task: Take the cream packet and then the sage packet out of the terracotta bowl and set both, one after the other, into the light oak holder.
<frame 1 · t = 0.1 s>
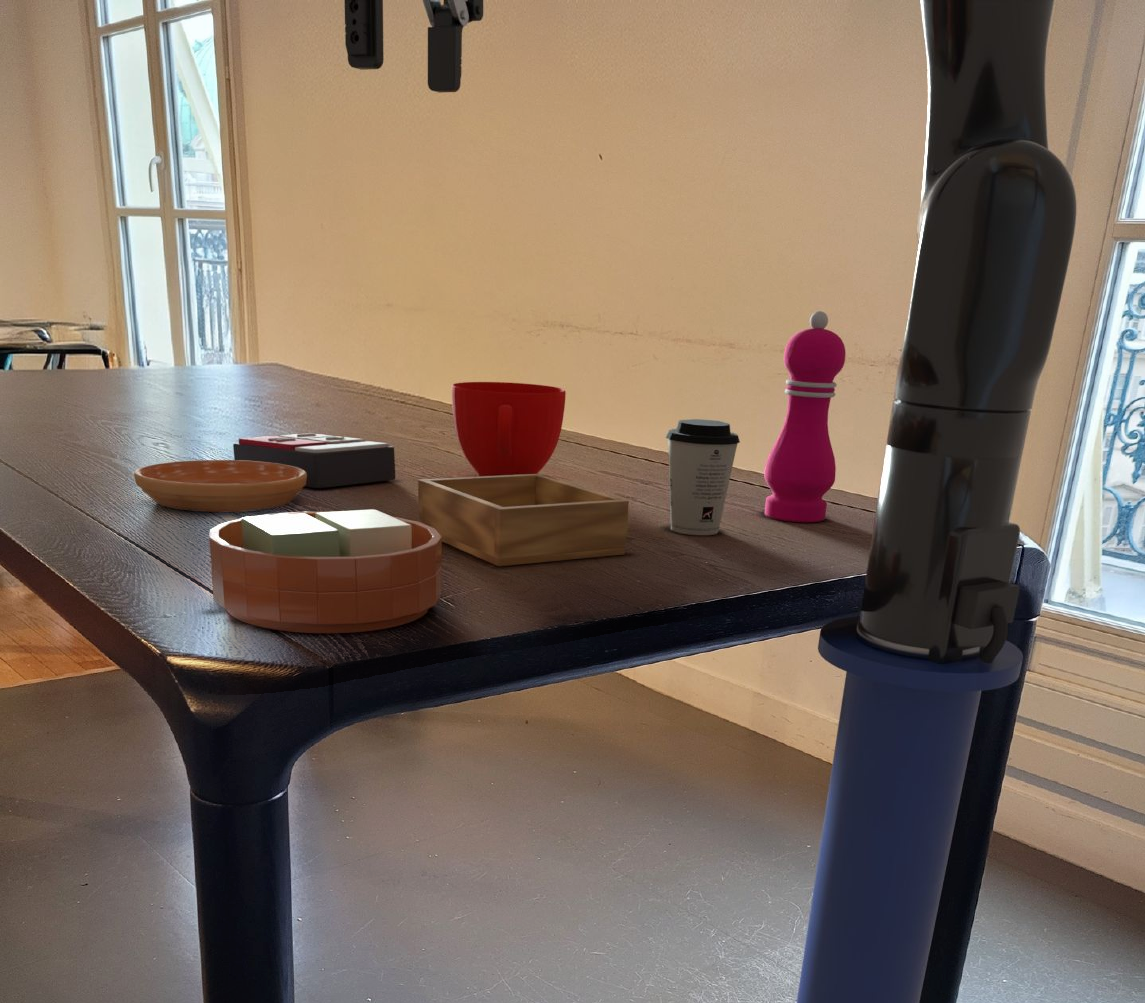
hand: (406, 80, 74), 33 cm above the table, tool pointing down, fingers open, 8 cm apart
ceramic cup: (505, 481, 132), on the table
holder: (519, 542, 101), on the table
coffee cup: (694, 532, 110), on the table
packet b: (292, 597, 78), point 1 cm above the table, touching bowl
bowl: (329, 605, 79), on the table
saucer: (224, 503, 112), on the table
pepper mill: (794, 518, 120), on the table
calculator: (314, 477, 128), on the table
packet a: (364, 590, 80), point 1 cm above the table, touching bowl
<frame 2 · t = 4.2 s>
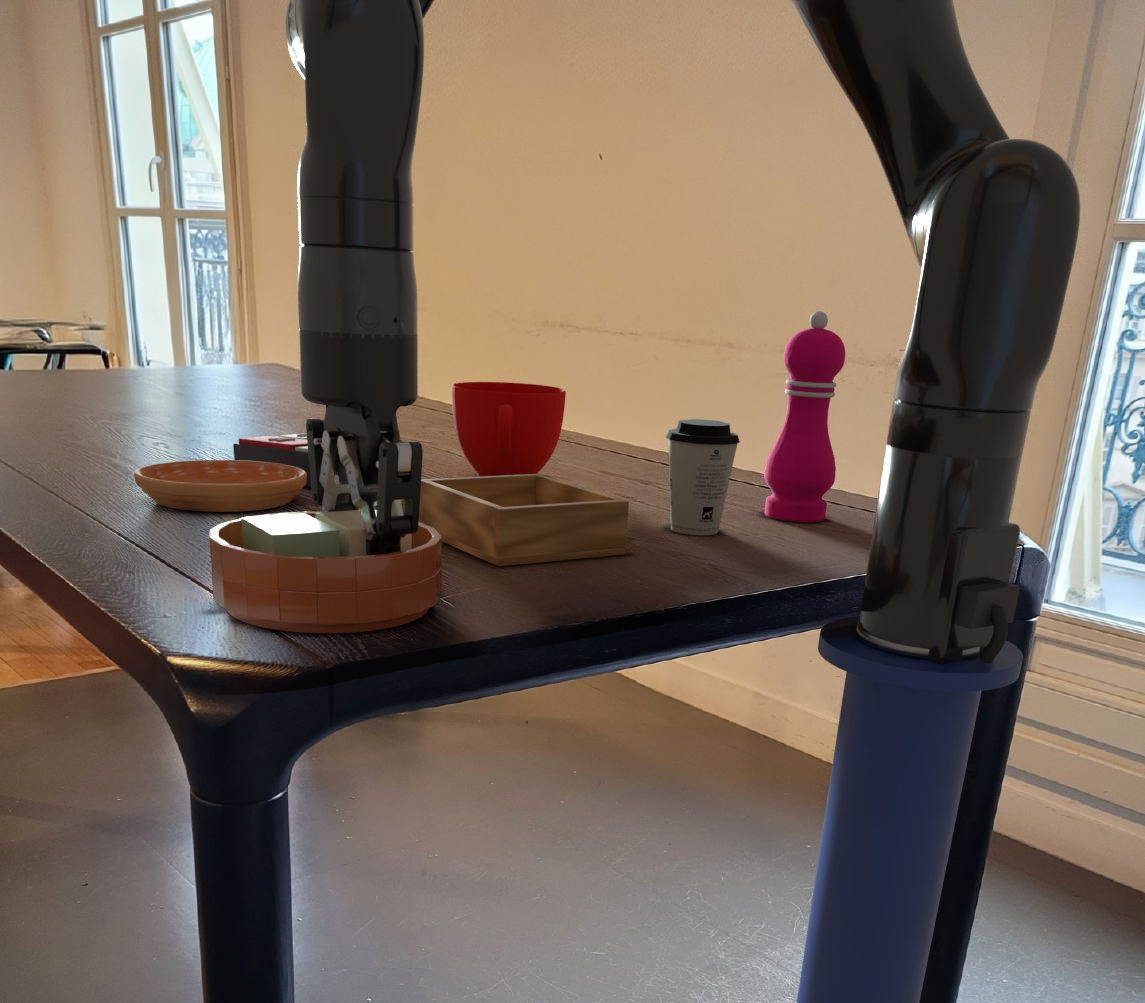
hand: (363, 581, 80), 1 cm above the table, tool pointing down, fingers closed on packet a, 6 cm apart
packet a: (364, 590, 80), point 1 cm above the table, touching bowl, gripper
everything else where it was.
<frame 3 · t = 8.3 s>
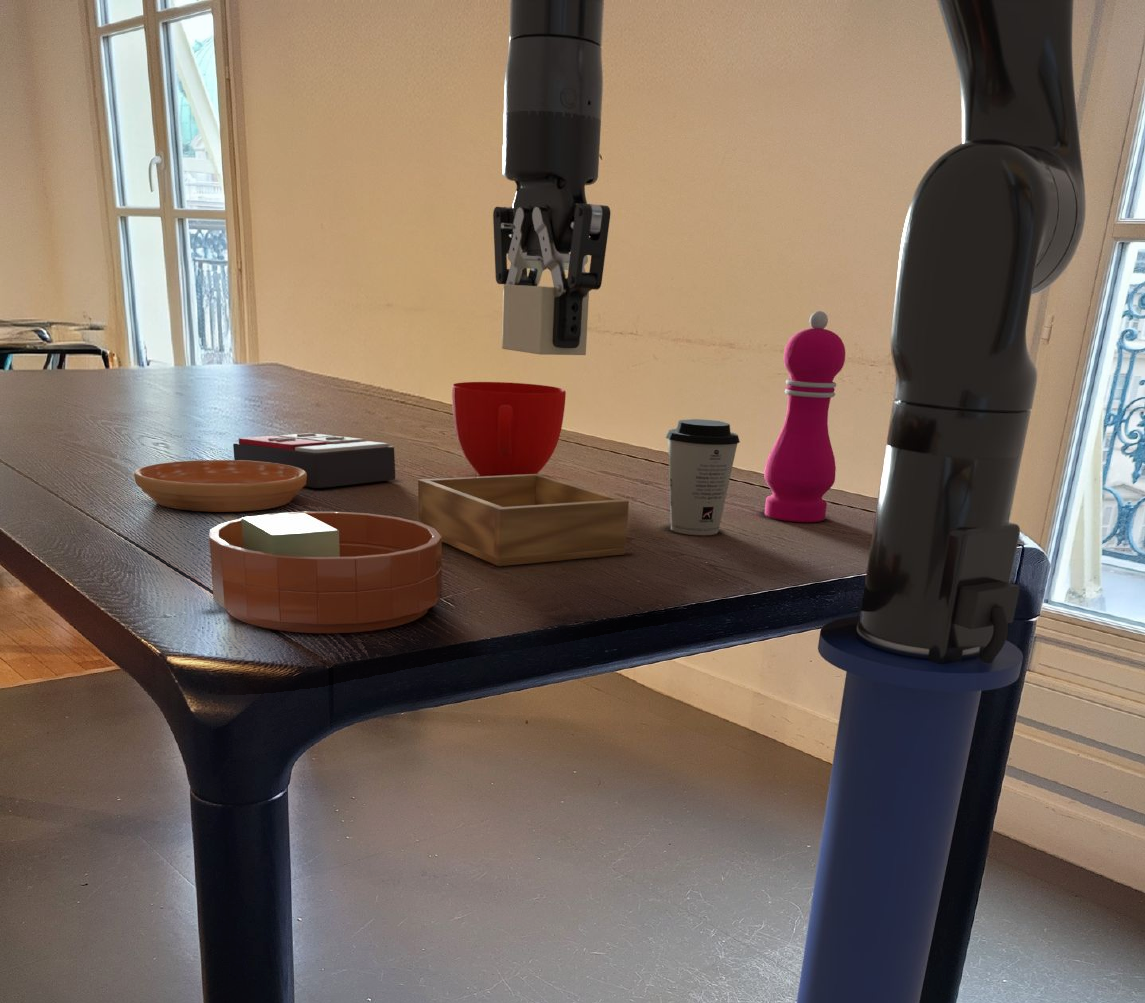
hand: (543, 343, 95), 17 cm above the table, tool pointing down, fingers closed on packet a, 6 cm apart
packet a: (543, 351, 95), point 16 cm above the table, touching gripper
everything else where it was.
when the fingers open (1 cm above the table, at t = 12.3 s): packet a stays where it is, resting on holder.
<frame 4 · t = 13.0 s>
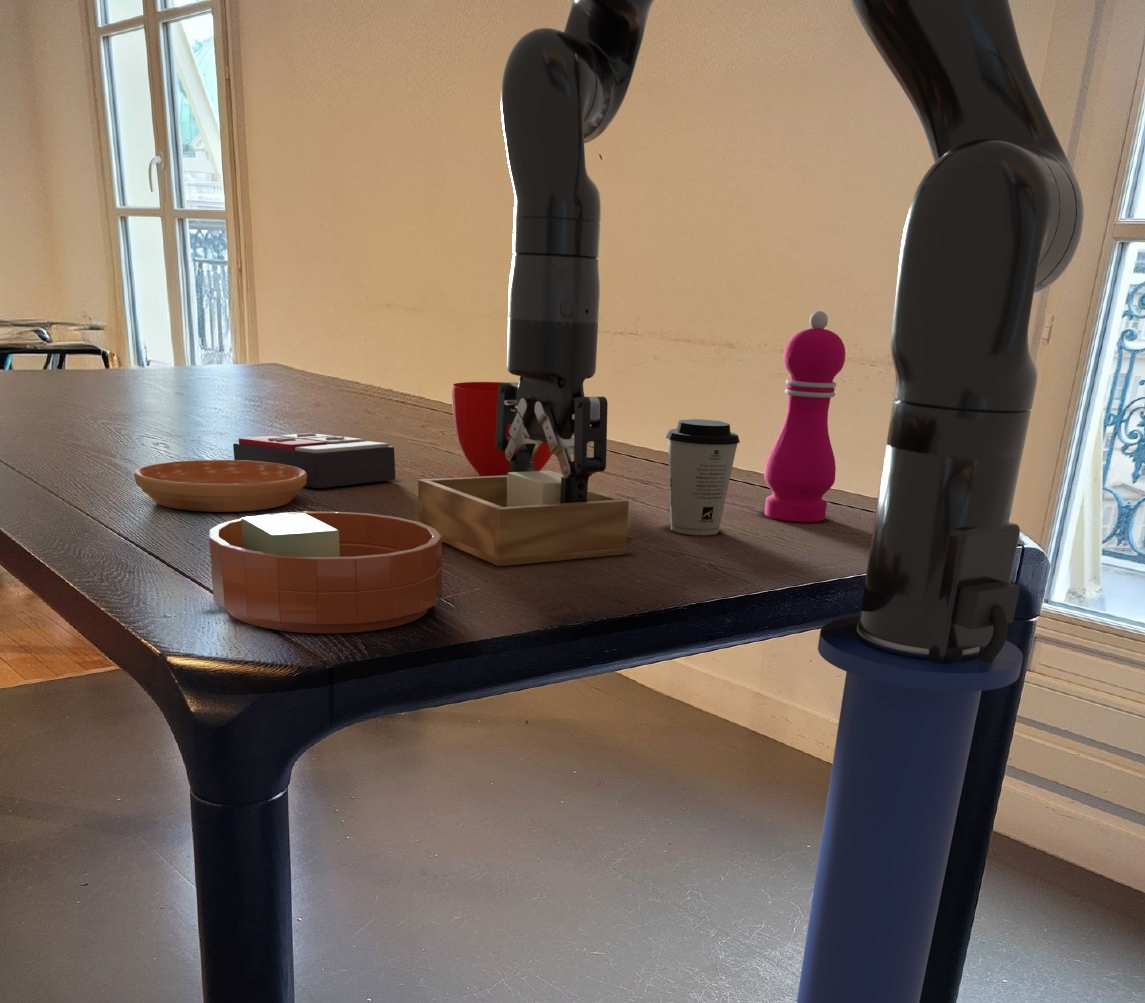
hand: (545, 512, 101), 3 cm above the table, tool pointing down, fingers open, 8 cm apart
packet a: (544, 533, 102), point 1 cm above the table, touching holder
everything else where it was.
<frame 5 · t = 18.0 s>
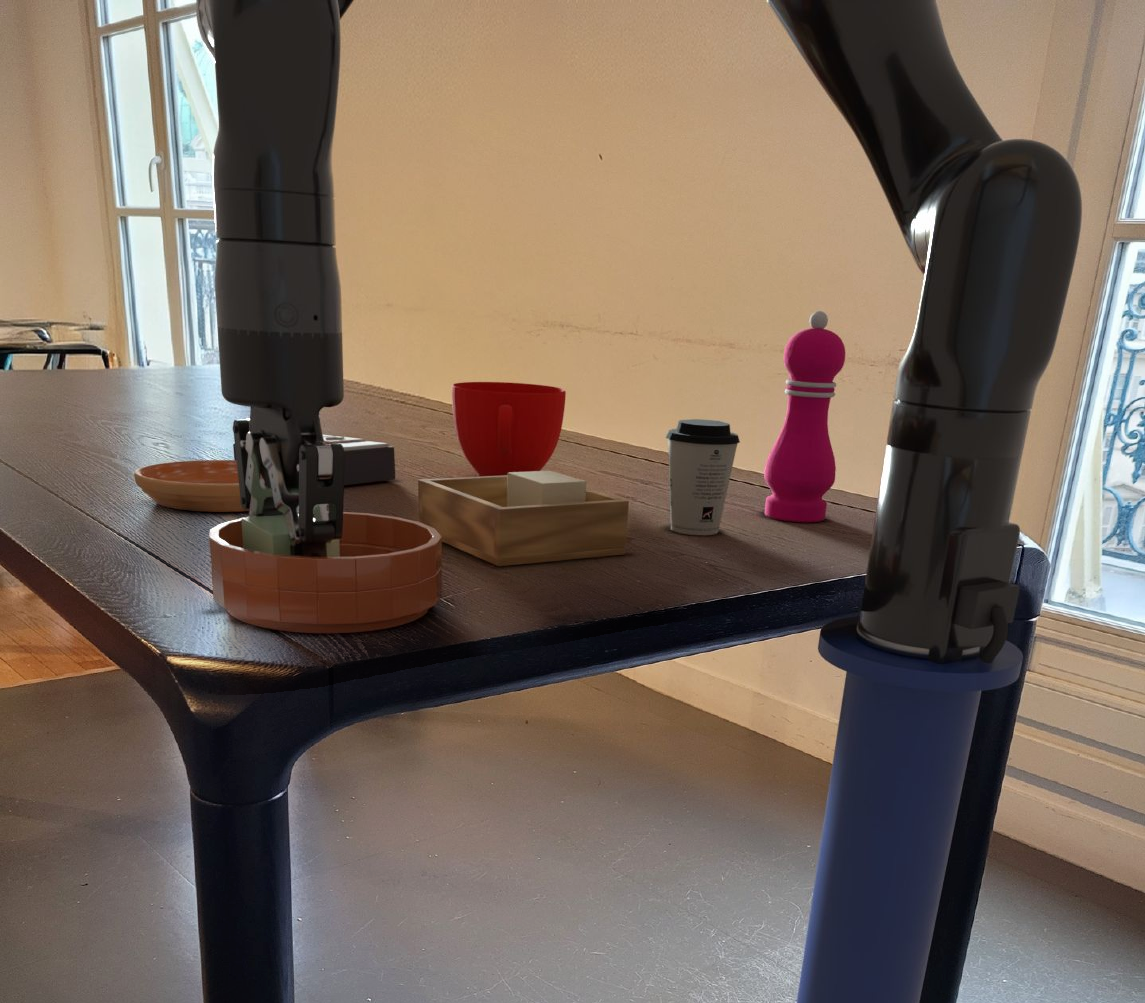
hand: (292, 588, 77), 1 cm above the table, tool pointing down, fingers closed on packet b, 6 cm apart
packet b: (292, 597, 78), point 1 cm above the table, touching bowl, gripper
everything else where it was.
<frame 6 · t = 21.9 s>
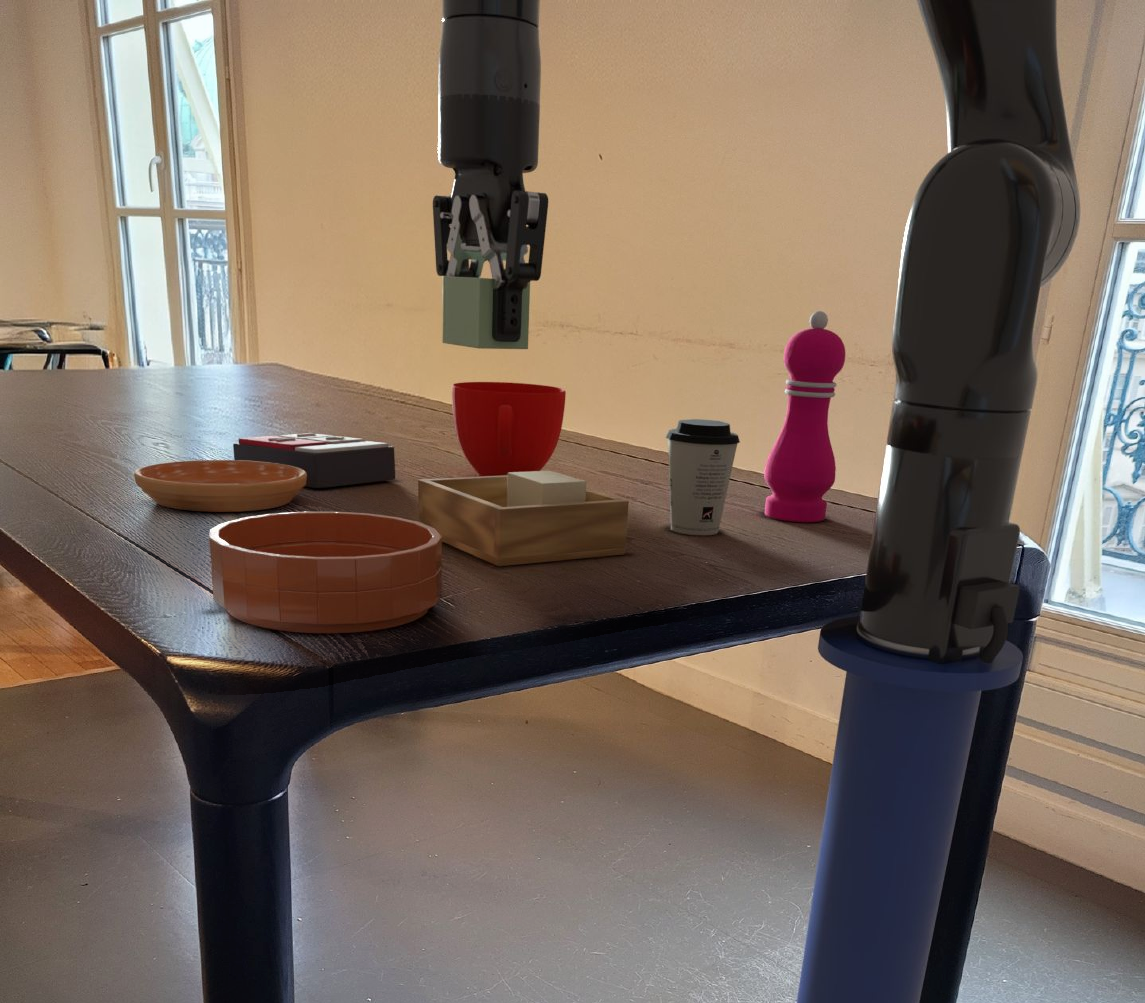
hand: (484, 337, 91), 17 cm above the table, tool pointing down, fingers closed on packet b, 6 cm apart
packet b: (484, 346, 92), point 16 cm above the table, touching gripper
everything else where it was.
when the fingers open (1 cm above the table, at t = 26.1 s): packet b stays where it is, resting on holder.
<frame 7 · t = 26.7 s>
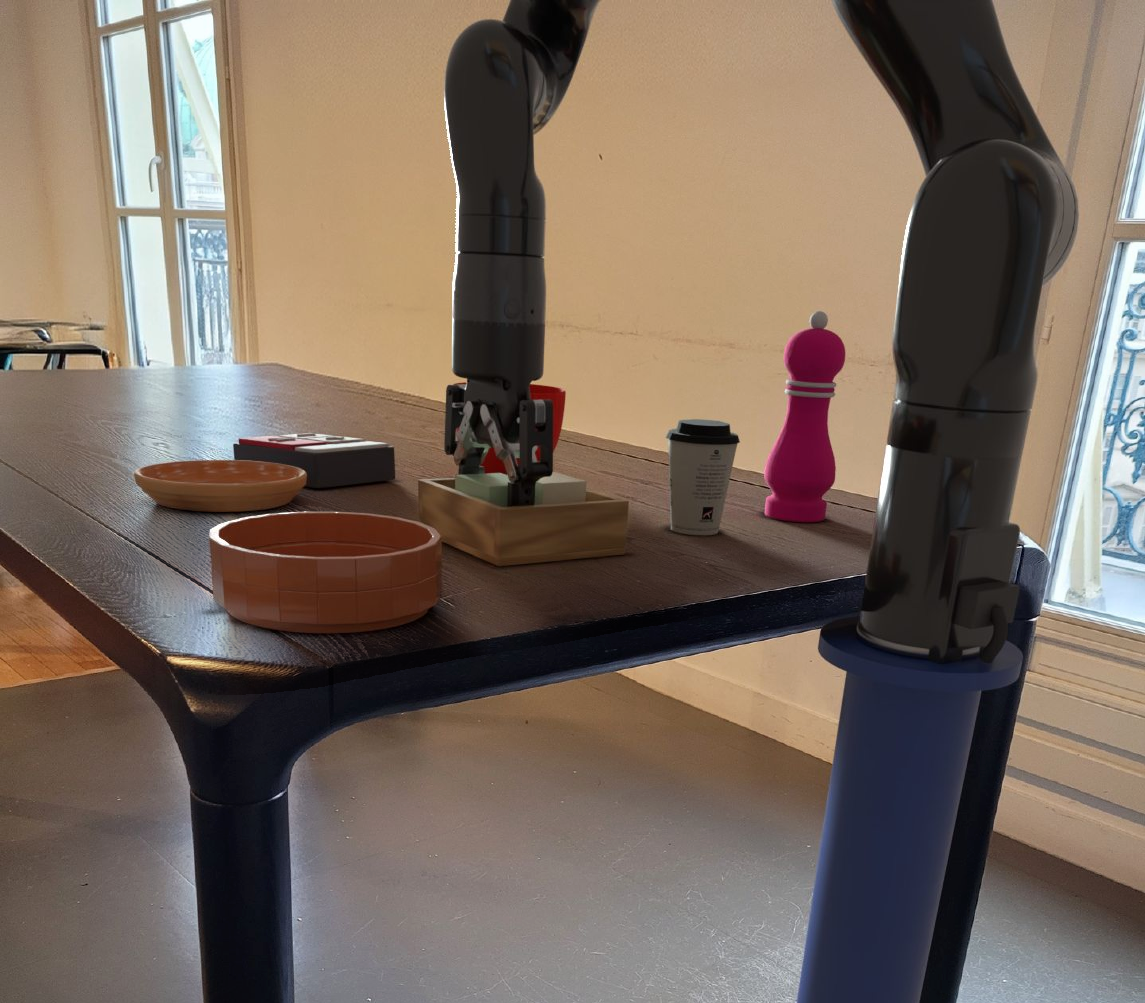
hand: (494, 517, 99), 2 cm above the table, tool pointing down, fingers open, 8 cm apart
packet b: (493, 537, 100), point 1 cm above the table, touching holder
everything else where it was.
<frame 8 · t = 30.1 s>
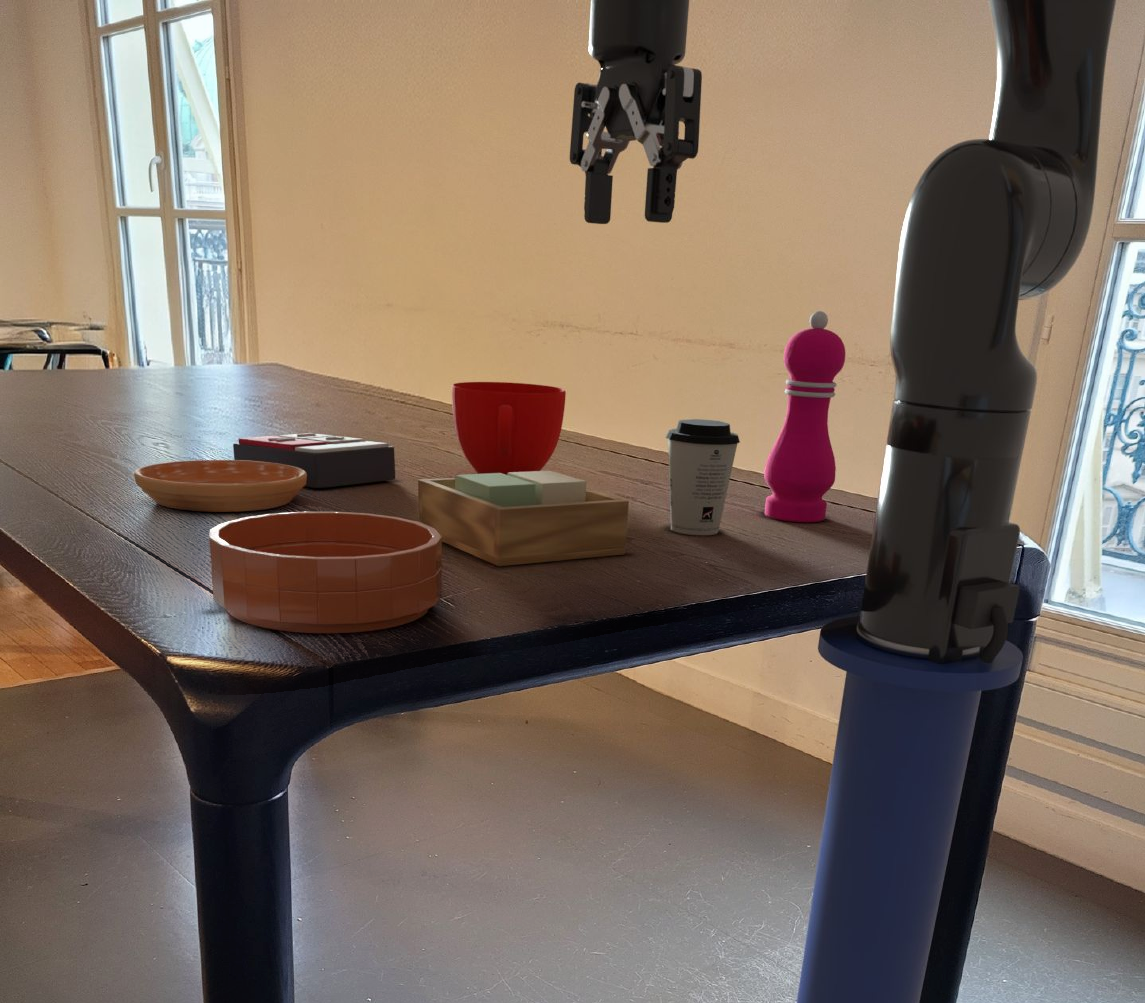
hand: (626, 222, 94), 26 cm above the table, tool pointing down, fingers open, 8 cm apart
nothing on the table moved.
at the end: packet a inside the target area in the holder (2.6 cm from its centre), point 0.6 cm above the holder's base; packet b inside the target area in the holder (2.6 cm from its centre), point 0.6 cm above the holder's base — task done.
